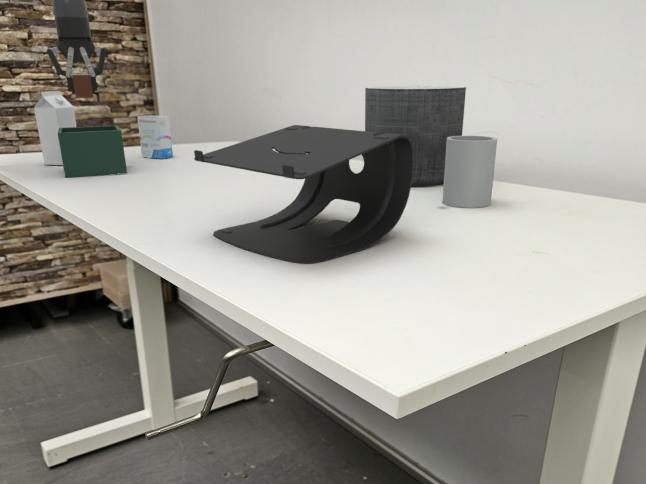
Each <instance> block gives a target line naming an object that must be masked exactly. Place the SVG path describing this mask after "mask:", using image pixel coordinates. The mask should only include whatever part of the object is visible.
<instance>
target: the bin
mask: <svg viewBox="0 0 646 484" xmlns="http://www.w3.org/2000/svg"><path fill="white" fill-rule="evenodd" d="M58 139H59V145H60V150H61V156H62V162H63V165H62V166H63V171H64V172H63V173H64V178H65V179H66V178H67V179H69V178H83V177H97V176H99V175H100V176H111V175H110V174H115V175H119V174H118V173H127V174H128V169H127V162H126V154H125V147H124V140H123V139H124V138H123V133H122V129H121V128H120V127H119V126H118V125H98V126H77V127H69V128H59V130H58Z"/></svg>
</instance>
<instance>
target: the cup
mask: <svg viewBox="0 0 646 484" xmlns="http://www.w3.org/2000/svg"><path fill="white" fill-rule="evenodd" d="M497 145H498V137H494V136H487V135H462V136H452V137H447V143H446V158H445V172H444V184H443V188H442V204H443V205H446V206H450V207H454V208H455V207H456V208H466V209H477V208H485V207H489V206H490V205H491V204H492V196H493V195H492V194H493V186H494V185H493V183H494V174H495V165H496V156H497V155H496V154H497Z"/></svg>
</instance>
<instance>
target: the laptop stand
mask: <svg viewBox="0 0 646 484" xmlns="http://www.w3.org/2000/svg"><path fill="white" fill-rule="evenodd" d="M193 153H194V158H193V159H194V161H195V162H201V163H206V164H212V165H218V166H224V167H229V168H234V169H239V170H244V171H249V172H255V173H260V174H267V175H270V176H276V177H281V178H287V179H292V180H304V181H303V183H302V184H303V185H302V186H301V189H300V190H299V192H298V194H297V196H296V197H295V199H294V200H292V202H290V203H289V204H288V205H287V206H286V207H284V208H283V209H281V210H280V211H278V212H276V213H274V214H273V215H270V216H267V217H266V218H263V219H260V220H255V221H253V222H247V223H242V224H239V225H234V226H228V227H224V228H220V229H217V230H214V231H213V233H212V234H213V236H214V237H215V238H217V239H219V240H220V241H222V242H225V243H227V244H229V245H232V246H235V247H237V248H240V249H243V250H246V251H249V252H251V253H255V254H258V255H262V256H266V257H270V258H274V259H278V260H282V261H285V262H291V263H297V264H317V263H322V262H326V261H330V260H333V259H336V258H340V257H344V256H348V255H351V254H355V253H359V252H361V251H363V250H365V249H368V248H369V247H372V246H374V245H375V244H376V243H378V242H380V241H381V240H382V239H384V238H385V237H386V236H387V235H388V234H389V233H390V232H391V231H392V230H394V228H395V227H396V225H397V224H399V222H400V220H401V217H402V215H403V214H404V212H405V209H406V207H407V204H408V201H409V198H410V193H411V188H412V186H411V184H412V176H413V146H412V142H411V140H410V139H409V138H408V137H407V136H406V135H399V134H388V133H384V134H382V133H378V132H367V131H365V130H354V129H344V128H332V127H322V126H311V125H300V124H294V125H290V126H287V127H284V128H280V129H278V130H274V131H272V132H268V133H265V134H262V135H259V136H255V137H253V138H250V139H246V140H243V141H240V142H238V143H235V144H231V145H228V146H225V147H222V148H219V149H215V150H212V151H210V152H206V153H203V151H202V150H198V149H195V150H193ZM359 156H362V158H363V166H362V168H361V171H360V172H357V173H356V172H354V171H353V170H352V168H351V165H350V160H352V159H355V158H357V157H359ZM334 200H335V201H336V200H339V201H340V200H341V201H345V202H350V203H351V202H352V203H356V204H359V210H358V212H357V214H356V215H354V218H352V219H351V220H350V221H346V220H341V219H331V220H327V221H326V220H325V221H322V222H317V223H314V224H309V225H305V224H307V223H309V222H310V221H311V220H313V219H315V218H316V217H317V216H318V215H319V214H321V213H322V212H323V211H324V210H325V209H326V208H327V207H328V205H330V203H331V202H333V201H334ZM303 225H305V226H303Z"/></svg>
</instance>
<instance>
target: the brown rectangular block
mask: <svg viewBox="0 0 646 484" xmlns="http://www.w3.org/2000/svg"><path fill="white" fill-rule="evenodd" d="M71 75H72V78H73V84H74V90H75V94H74V95H75V98H76V99H85V98H86V99H87V98H88V99H89V98H94V94H93V92H92V85H91V79H90V74H71Z"/></svg>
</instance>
